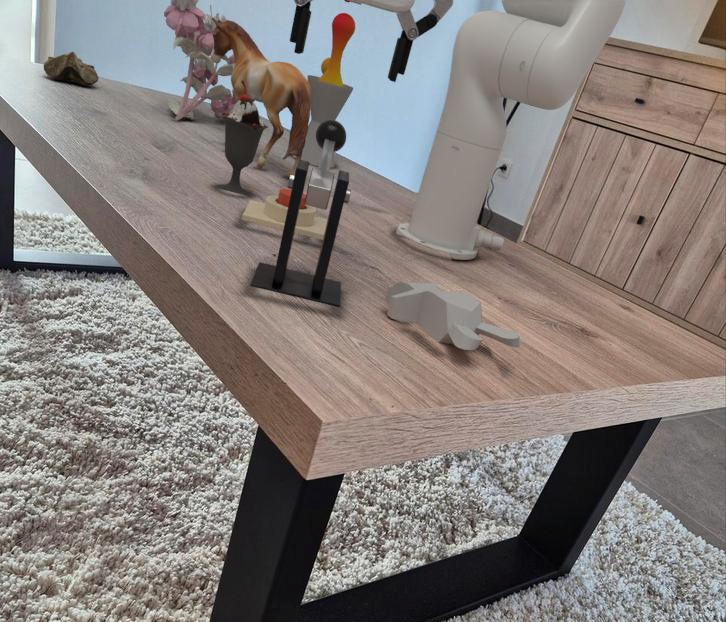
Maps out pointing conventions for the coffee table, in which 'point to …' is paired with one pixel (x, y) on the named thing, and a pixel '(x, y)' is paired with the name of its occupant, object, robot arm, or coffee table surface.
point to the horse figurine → (266, 86)
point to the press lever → (325, 163)
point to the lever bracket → (279, 275)
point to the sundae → (241, 139)
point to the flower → (199, 59)
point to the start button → (285, 198)
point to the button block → (276, 217)
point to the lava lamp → (328, 88)
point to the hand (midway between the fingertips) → (345, 66)
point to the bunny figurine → (444, 315)
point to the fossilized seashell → (70, 69)
